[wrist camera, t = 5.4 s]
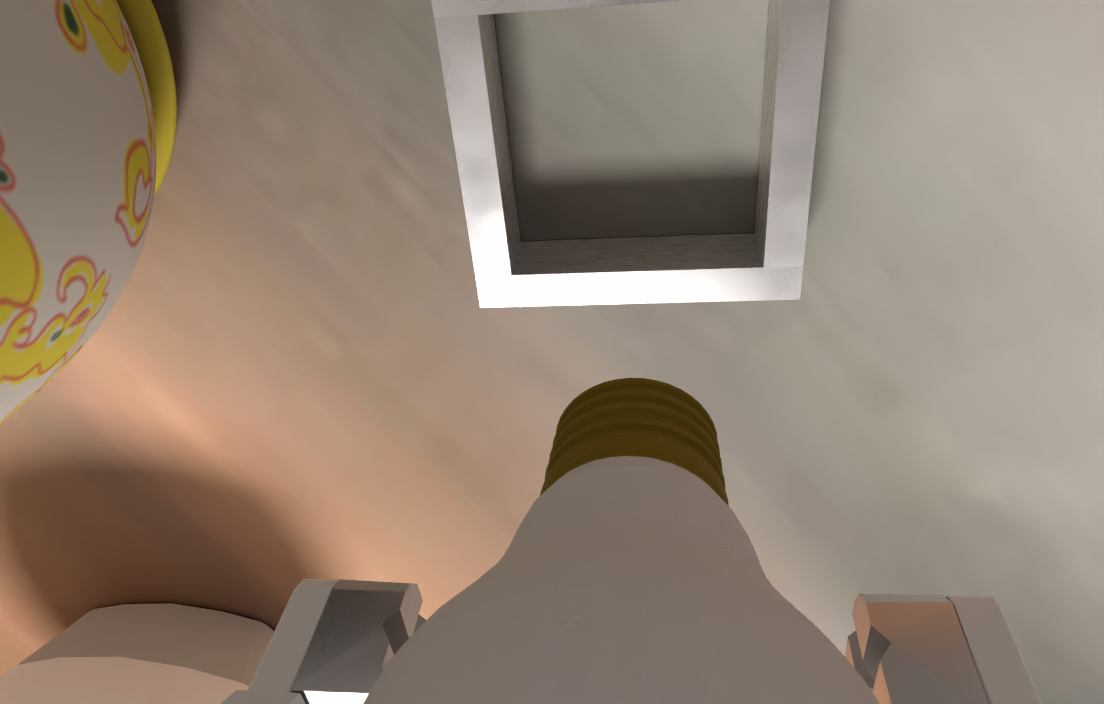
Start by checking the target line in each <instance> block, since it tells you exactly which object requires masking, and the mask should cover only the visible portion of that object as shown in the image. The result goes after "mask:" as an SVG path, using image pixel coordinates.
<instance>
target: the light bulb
mask: <svg viewBox="0 0 1104 704" xmlns="http://www.w3.org/2000/svg"><path fill="white" fill-rule="evenodd" d="M363 704H879V702H878V700H877V698H876V697H875V695H874V694H873V692H872V691H871V689H870V688H869V686H868V685H867V684H866V682H865V681H864V679H863V678H862V677H861V675H860V674H859V673H858V672H857V671H856V669H855V668H854V667H853V666H852V665H851V664H850V662H849V661H848V660H847V659H846V658H845V657H844V655H843V654H842V653H841V652H840V651H839V650H838V649H837V648H836V646H835V645H834V644H833V643H832V642H831V641H830V640H829V639H828V638H827V637H826V636H825V635H824V634H823V633H822V632H821V631H820V630H819V629H818V628H817V627H816V626H815V625H814V624H813V623H812V622H811V621H810V620H809V619H808V618H806V617H805V616H804V615H803V614H802V613H801V612H800V611H798V610H797V609H796V608H795V607H794V606H793V605H792V604H791V603H789V602H788V601H787V600H786V599H785V598H784V597H783V596H782V595H781V594H780V593H779V592H778V591H777V590H776V589H775V588H774V587H773V586H772V585H771V584H770V582H769V581H768V580H767V578H766V576H765V574H764V572H763V570H762V568H761V565H760V563H759V560H758V558H757V555H756V552H755V550H754V548H753V546H752V543H751V541H750V539H749V537H748V535H747V533H746V532H745V530H744V528H743V527H742V525H741V523H740V522H739V520H738V519H737V517H736V515H735V514H734V512H733V511H732V510H731V508H730V507H729V505H728V499H727V495H726V492H725V481H724V476H723V473H722V463H721V458H720V452H719V445H718V441H717V432H716V429H715V426H714V423H713V421H712V420H711V418H710V416H709V414H708V413H707V411H706V410H705V409H704V408H703V407H702V405H701V404H700V403H699V402H698V401H696V400H695V399H694V398H693V397H692V396H691V395H689V394H687V393H686V392H684V391H683V390H681V389H679V388H677V387H674V386H672V385H670V384H667V383H663V382H660V381H657V380H650V379H644V378H625V379H616V380H612V381H608V382H604V383H601V384H599V385H596V386H594V387H592V388H590V389H588V390H586V391H585V392H583V393H581V394H580V395H579V396H578V397H576V398H575V399H574V400H573V401H572V402H571V403H570V404H569V405H568V407H567V408H566V409H565V411H564V412H563V414H562V416H561V417H560V420H559V422H558V425H557V430H556V435H555V438H554V441H553V448H552V450H551V453H550V459H549V464H548V467H547V469H546V475H545V482H544V484H543V487H542V490H541V494H540V497H539V498H538V499H537V500H536V501H535V502H534V503H533V505H532V506H531V508H530V510H529V511H528V513H527V514H526V516H525V518H524V519H523V521H522V523H521V524H520V526H519V528H518V530H517V532H516V534H515V536H514V538H513V540H512V542H511V544H510V547H509V548H508V550H507V551H506V553H505V554H504V556H503V557H502V559H501V560H500V561H499V562H498V563H497V564H496V565H495V566H493V567H492V568H491V569H490V570H489V571H488V572H486V573H485V574H484V575H483V576H482V577H481V578H479V579H478V580H477V581H475V582H474V583H473V584H471V585H470V586H469V587H467V588H466V589H465V590H463V591H462V592H460V593H459V594H458V595H456V596H455V597H454V598H452V599H451V600H450V601H448V602H447V603H446V604H444V605H443V606H441V607H440V608H439V609H438V610H437V611H436V612H435V613H434V614H433V615H432V616H431V617H430V618H429V619H428V620H427V621H426V622H424V623H423V624H422V625H421V626H420V627H419V629H418V630H417V631H416V632H415V633H414V634H413V635H412V636H411V637H410V638H409V639H408V640H407V641H406V642H405V643H404V644H403V645H402V646H401V648H400V649H399V650H398V651H397V652H396V654H395V655H394V656H393V657H392V659H391V660H390V661H389V662H388V664H387V665H386V667H385V668H384V670H383V671H382V672H381V674H380V675H379V677H378V678H377V680H376V682H375V683H374V685H373V687H372V689H371V690H370V692H369V694H368V696H367V697H366V699H365V701H364V703H363Z"/></svg>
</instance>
